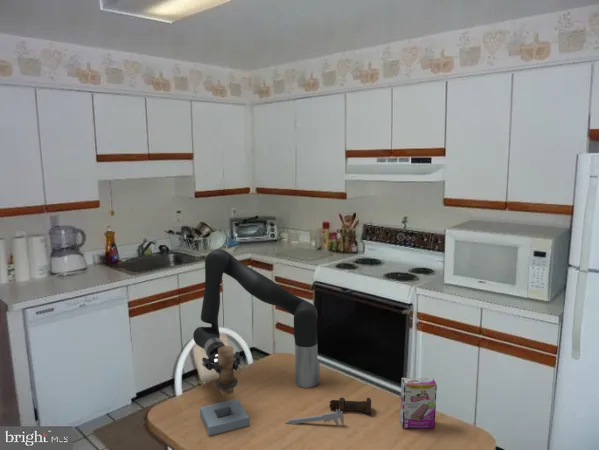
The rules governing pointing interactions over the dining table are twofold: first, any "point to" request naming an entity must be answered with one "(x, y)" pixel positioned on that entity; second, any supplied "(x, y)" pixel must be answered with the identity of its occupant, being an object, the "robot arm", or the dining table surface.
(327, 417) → the caliper
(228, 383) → the peg
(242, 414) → the board
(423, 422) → the candy bar box
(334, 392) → the dining table surface
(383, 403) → the dining table surface
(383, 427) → the dining table surface
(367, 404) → the bolt
